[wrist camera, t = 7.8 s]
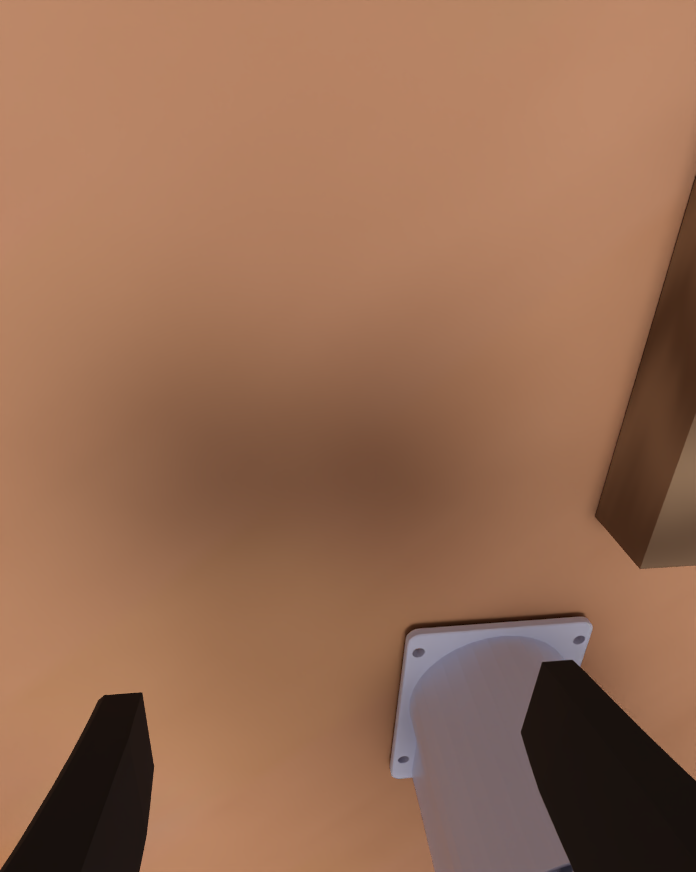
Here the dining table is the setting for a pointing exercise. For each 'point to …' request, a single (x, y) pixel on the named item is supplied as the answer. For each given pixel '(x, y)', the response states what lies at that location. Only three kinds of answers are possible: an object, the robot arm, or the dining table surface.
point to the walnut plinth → (661, 429)
